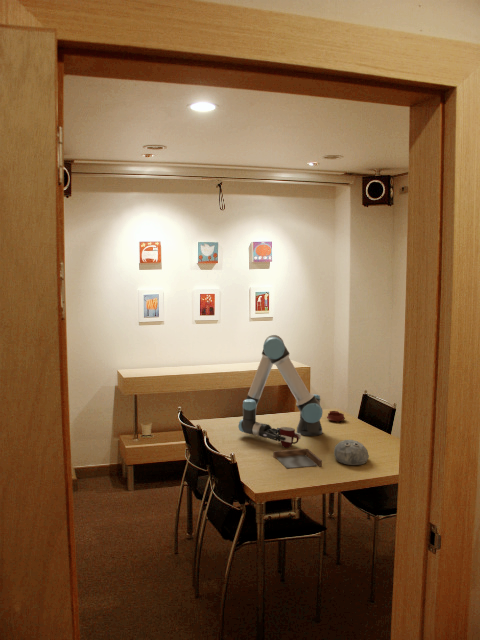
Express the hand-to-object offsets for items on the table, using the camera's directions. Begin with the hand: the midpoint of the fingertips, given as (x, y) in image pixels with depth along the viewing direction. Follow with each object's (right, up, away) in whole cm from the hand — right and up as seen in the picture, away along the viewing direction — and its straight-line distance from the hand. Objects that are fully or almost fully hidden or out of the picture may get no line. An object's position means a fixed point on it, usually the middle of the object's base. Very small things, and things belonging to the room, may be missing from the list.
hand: (295, 438), depth 297 cm
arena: (-2, -8, -20) cm, 21 cm away
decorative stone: (+27, -8, -16) cm, 32 cm away
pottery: (+32, -2, +64) cm, 71 cm away
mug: (-4, -6, +4) cm, 8 cm away
